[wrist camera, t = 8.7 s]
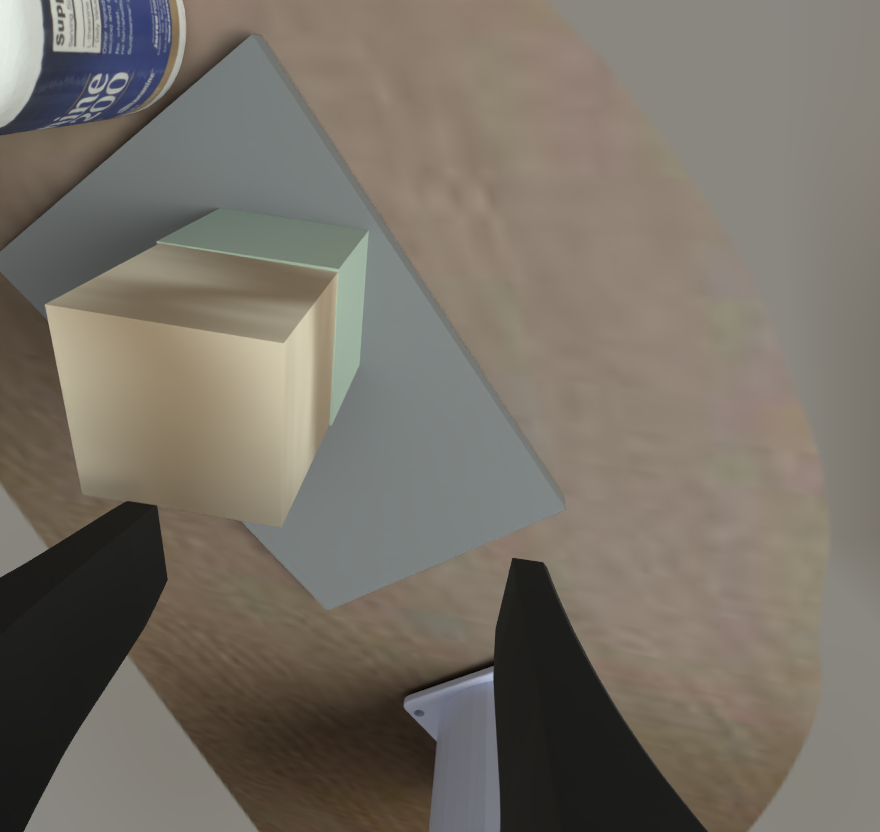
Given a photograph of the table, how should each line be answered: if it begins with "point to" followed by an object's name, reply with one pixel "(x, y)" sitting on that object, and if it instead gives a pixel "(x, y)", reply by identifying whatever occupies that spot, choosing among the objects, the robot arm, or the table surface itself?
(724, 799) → the table surface
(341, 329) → the sage block
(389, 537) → the board
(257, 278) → the birch block
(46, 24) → the pill bottle
